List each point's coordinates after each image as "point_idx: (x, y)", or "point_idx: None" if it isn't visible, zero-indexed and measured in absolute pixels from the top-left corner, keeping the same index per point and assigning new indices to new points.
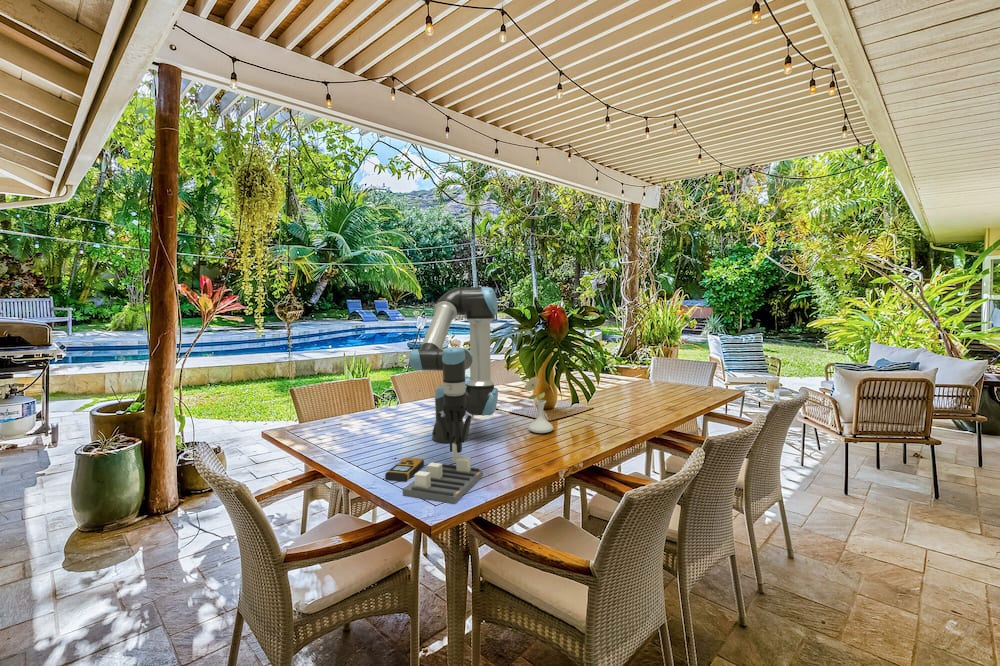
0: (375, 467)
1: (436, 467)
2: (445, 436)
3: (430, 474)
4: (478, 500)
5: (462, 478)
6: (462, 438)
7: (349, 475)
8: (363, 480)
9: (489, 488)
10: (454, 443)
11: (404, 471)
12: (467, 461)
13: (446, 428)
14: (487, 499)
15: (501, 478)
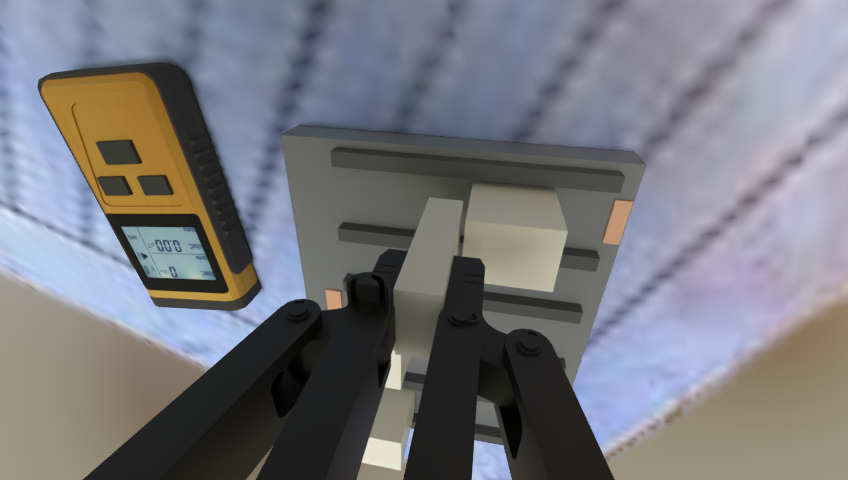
0: (13, 169)
1: (392, 384)
2: (292, 395)
3: (403, 435)
4: (644, 399)
5: (536, 314)
6: (517, 434)
7: (28, 269)
8: (113, 301)
9: (692, 296)
10: (415, 347)
11: (212, 287)
12: (553, 282)
13: (229, 461)
14: (687, 390)
15: (783, 150)
